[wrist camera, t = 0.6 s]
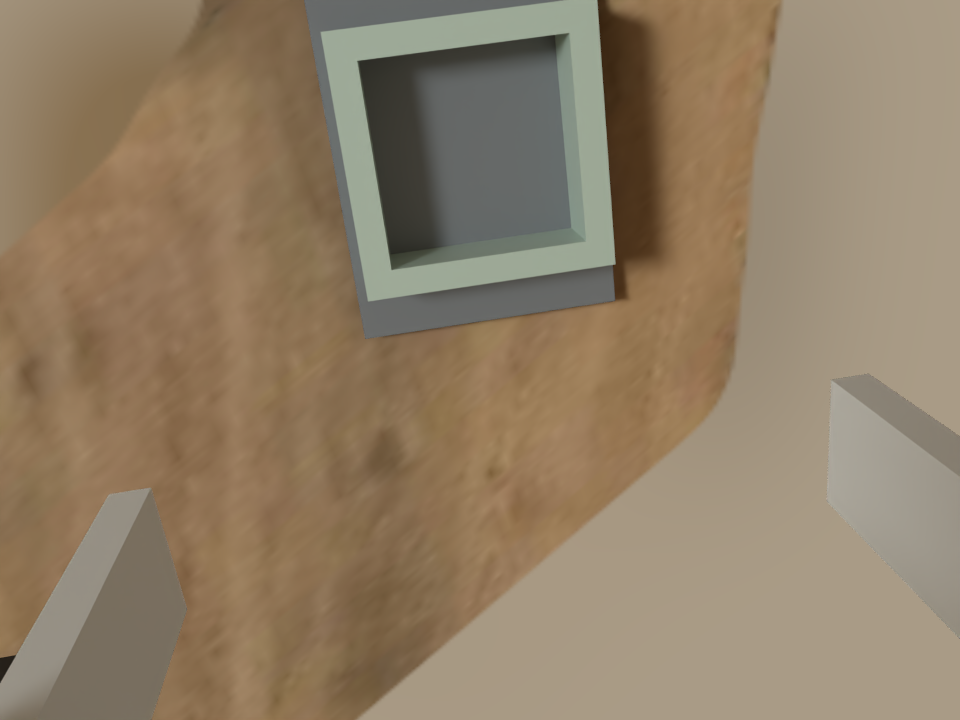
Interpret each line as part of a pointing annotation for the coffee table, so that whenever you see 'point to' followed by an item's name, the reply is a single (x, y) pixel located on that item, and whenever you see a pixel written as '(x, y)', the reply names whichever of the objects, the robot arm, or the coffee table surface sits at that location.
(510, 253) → the bottle holder
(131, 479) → the coffee table surface
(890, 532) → the robot arm
